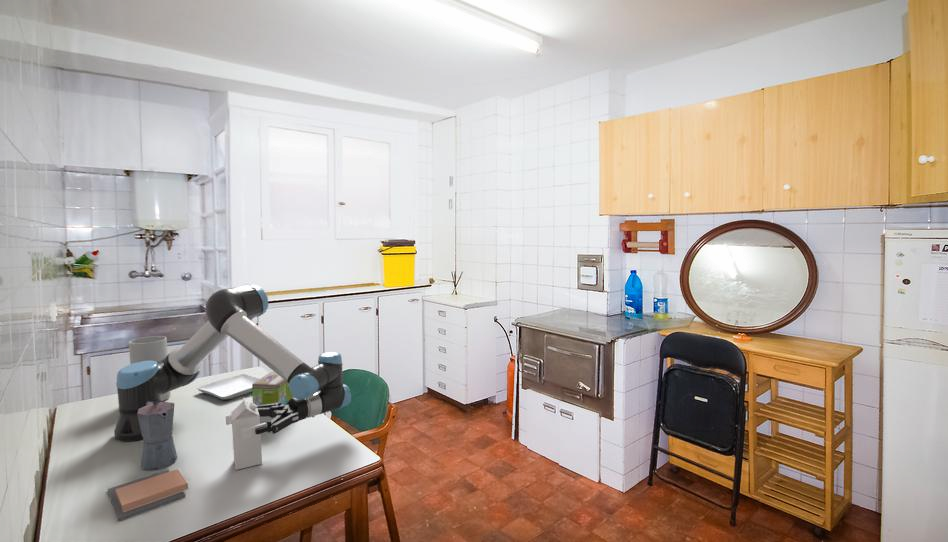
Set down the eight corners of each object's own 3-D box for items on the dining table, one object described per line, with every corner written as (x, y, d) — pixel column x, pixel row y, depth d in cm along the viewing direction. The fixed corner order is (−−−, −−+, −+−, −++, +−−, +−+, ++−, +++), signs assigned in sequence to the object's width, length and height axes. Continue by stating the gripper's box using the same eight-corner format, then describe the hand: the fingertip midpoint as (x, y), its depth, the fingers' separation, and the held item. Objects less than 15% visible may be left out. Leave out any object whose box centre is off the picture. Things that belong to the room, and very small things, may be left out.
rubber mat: (107, 491, 124) (107, 489, 124) (168, 471, 134) (168, 469, 134) (118, 521, 112) (118, 518, 111) (185, 496, 121) (185, 494, 121)
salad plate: (223, 404, 185) (222, 396, 185) (195, 394, 196) (195, 386, 196) (271, 388, 203) (271, 381, 202) (243, 380, 214) (243, 373, 214)
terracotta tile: (178, 475, 131) (116, 496, 121) (177, 469, 130) (115, 489, 120) (187, 490, 123) (122, 513, 114) (187, 482, 123) (122, 505, 113)
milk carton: (235, 470, 134) (231, 407, 132) (234, 460, 140) (230, 399, 138) (262, 464, 138) (259, 402, 136) (259, 454, 144) (256, 394, 142)
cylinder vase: (128, 401, 188) (123, 340, 186) (162, 392, 198) (158, 334, 196) (141, 408, 181) (136, 345, 178) (176, 398, 191) (172, 338, 189)
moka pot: (152, 477, 131) (147, 409, 129) (127, 462, 139) (122, 398, 137) (188, 462, 139) (184, 398, 137) (162, 449, 147) (158, 388, 145)
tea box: (280, 424, 166) (278, 383, 164) (252, 424, 166) (250, 383, 165) (297, 407, 181) (295, 370, 179) (271, 407, 181) (269, 370, 180)
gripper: (323, 429, 142) (250, 454, 127) (288, 407, 160) (220, 426, 145) (322, 406, 141) (249, 427, 126) (287, 386, 159) (219, 403, 144)
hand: (233, 427), depth 135 cm, fingers open, 13 cm apart
